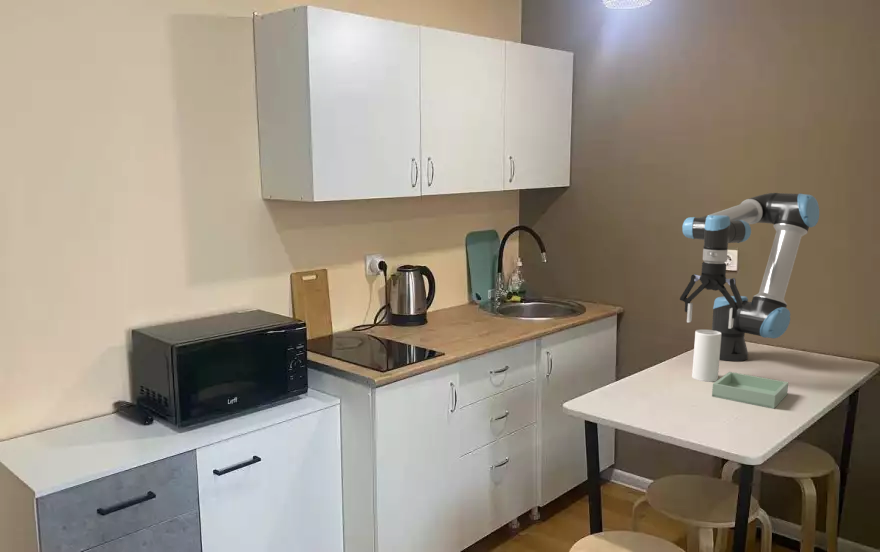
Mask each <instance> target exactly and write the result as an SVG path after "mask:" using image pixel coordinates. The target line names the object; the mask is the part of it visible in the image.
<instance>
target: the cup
mask: <svg viewBox="0 0 880 552" xmlns="http://www.w3.org/2000/svg"><path fill="white" fill-rule="evenodd" d="M720 346H721V332H718V331H714V330H712V329H701V328H700V329H696V330H695V332H694V346H693V347H694V348H693V358H692V359H693V360H692V371H691V378H692V379H694V380H696V381H700V382H708V383H711V382H712V383H715V382H716V381H717V380H719V369H720V367H719V366H720V359H719V358H720Z"/></svg>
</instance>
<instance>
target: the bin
mask: <svg viewBox="0 0 880 552" xmlns="http://www.w3.org/2000/svg"><path fill="white" fill-rule="evenodd" d="M788 391H789V382H788V381H783V380H777V379H771V378H766V377H761V376H755V375H750V374H744V373H737V372H732V371H728V372H727V373H725V374H724V375H723V376H721V377H720V378H718V380H717V381H714V382H712V391H711V397H713V398H714V397H715V398H719V399H723V400H729V401H734V402H739V403H744V404H749V405H754V406H757V407H758V406H759V407H762V408H763V407H764V408H768V409H773V410H774V409H776V407H777V406H778V405H779V404H780V403H781V402H782V401H783V400H784V399H785V397H786V396H787V395H788Z"/></svg>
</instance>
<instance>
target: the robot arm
mask: <svg viewBox="0 0 880 552" xmlns="http://www.w3.org/2000/svg"><path fill="white" fill-rule="evenodd" d="M819 220H820V207H819V203H818V201H817V198H815V196H814V195H811V194H808V193H807V194H806V193H804V194H803V193H786V192H785V193H783V192H781V193H780V192H769V193H768V192H767V193H764V194H759V195H755V196H753V197H750V198H747V199H744V200H743V201H741V202H740V204H738V205H734V206H731V207H728V208H726V209H723V210H719V211H716V212H713V213H711V214H708V215H704V216H701V217H696V216H692V217H691V216H690V217H687V218H686V219H684V220H683V223H682V230H681V231H682V234H683V236H685V238H687V239H693V240H703V249H702V261H703V262H702V263H701V274H700V275H698V274H696V273H694V274H692V275H691V276H690V280H689V282H688V284H687V286H686V287H685V289H684V291H683V292H682V294H681V296H680V298H679V300H680V301H681V302H684V312H685V313H687V314H686V323H689V324H690V323H691V322H692V320H693V318H692V317H693V306H694V302H692V301H693V300H694V299H695V298H696V297H697V296H698V295H699V294H701V293H702V292H703V290H708V291H709V290H712V291H719V292H720V293H721V295H722V296H718V297H716V298H715V299H714V301H713V307H712V311H713V312H712V325H711V330H714V331H718V332H721V346H720V358H719V361H720V360H721V361H729V362H730V361H731V362H742V361H746V360H748V357H749V351H748V346H747V343H746V340H745V334H749V335H753V336H760V337H761V338H765V339H766V338H767V339H778V338H780V337H781V336H783V335H784V334H785V333H786V331H787V329H788V328H789V325H790V323H791V311H790V310H789V308H787V306H788V303H787V302H786V301H785V296H786V292H787V289H788V285H789V283H790V280H791V279H790V278H791V276H792V272H793V269H794V264H795V261H796V257H797V254H798V251H799V248H800V243H801V241H802V237H803V236H805V235H807V234H808V231H809V228H813V227H816V225H817V224H818V222H819ZM754 224H771V225H773V226H772V227H773V228H774V230H775V235H774V238H773V241H772V246H771V249H770V253H769V256H768V259H767V260H768V261H767V263H766V267H765V270H764V273H763V277H762V281H761V284H760V287H759V290H758V291H759V292H758V293H757V294H755V295H753V296H752V300H751V301H749V299H748V296H745V295H741V294H740V292H739V289H738V287H737V284H736V283H737V281H736V280H737V279H736V278H735V277H733V278H727V275H726V273H727V263H726V262H727V261H728V249H729V244H740V243H743V242H746V241H747V240H749V238H750V237H751V235H752V228H751V225H754ZM698 281H700V282H701V284H700V286H698V287H697V288H696V289H695V291H693V292H692V293H691V291H692V289H693V287H694V285H695V284H696V282H698ZM726 283H727V284H728V285H729V288H730V290H731V292H732V294H733V295H731V294H730V292H729V291H728V290H727V287H726V286H725V285H726ZM690 293H691V294H690ZM689 294H690V295H689Z"/></svg>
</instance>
